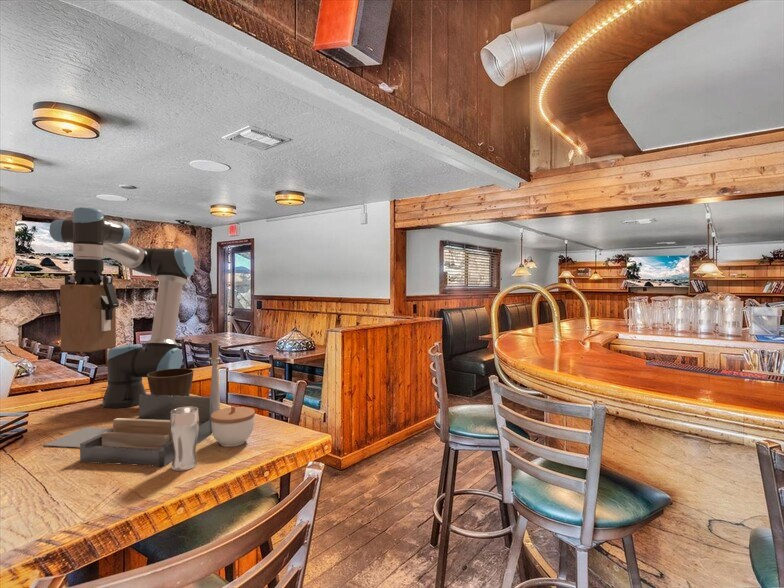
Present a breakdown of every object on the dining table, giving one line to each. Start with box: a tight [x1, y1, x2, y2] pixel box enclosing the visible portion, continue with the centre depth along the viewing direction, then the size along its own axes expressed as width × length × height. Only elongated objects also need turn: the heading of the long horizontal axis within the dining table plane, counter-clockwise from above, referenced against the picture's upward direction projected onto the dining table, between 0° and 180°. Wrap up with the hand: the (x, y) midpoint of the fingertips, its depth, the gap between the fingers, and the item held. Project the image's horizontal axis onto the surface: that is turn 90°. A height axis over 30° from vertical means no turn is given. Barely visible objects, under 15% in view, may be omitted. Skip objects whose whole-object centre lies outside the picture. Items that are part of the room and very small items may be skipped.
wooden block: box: [59, 284, 117, 353], centre depth 126 cm, size 10×10×20 cm
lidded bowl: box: [211, 405, 256, 448], centre depth 125 cm, size 13×13×11 cm
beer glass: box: [170, 406, 199, 472], centre depth 108 cm, size 7×7×15 cm
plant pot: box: [146, 367, 195, 396], centre depth 148 cm, size 15×15×16 cm
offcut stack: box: [102, 417, 171, 449], centre depth 114 cm, size 8×19×9 cm, turn 85°
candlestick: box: [209, 338, 221, 413], centre depth 141 cm, size 13×13×30 cm
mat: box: [42, 426, 113, 448], centre depth 127 cm, size 15×15×1 cm
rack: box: [79, 394, 213, 467], centre depth 120 cm, size 24×24×12 cm
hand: (89, 330), depth 126 cm, fingers closed on wooden block, 10 cm apart
